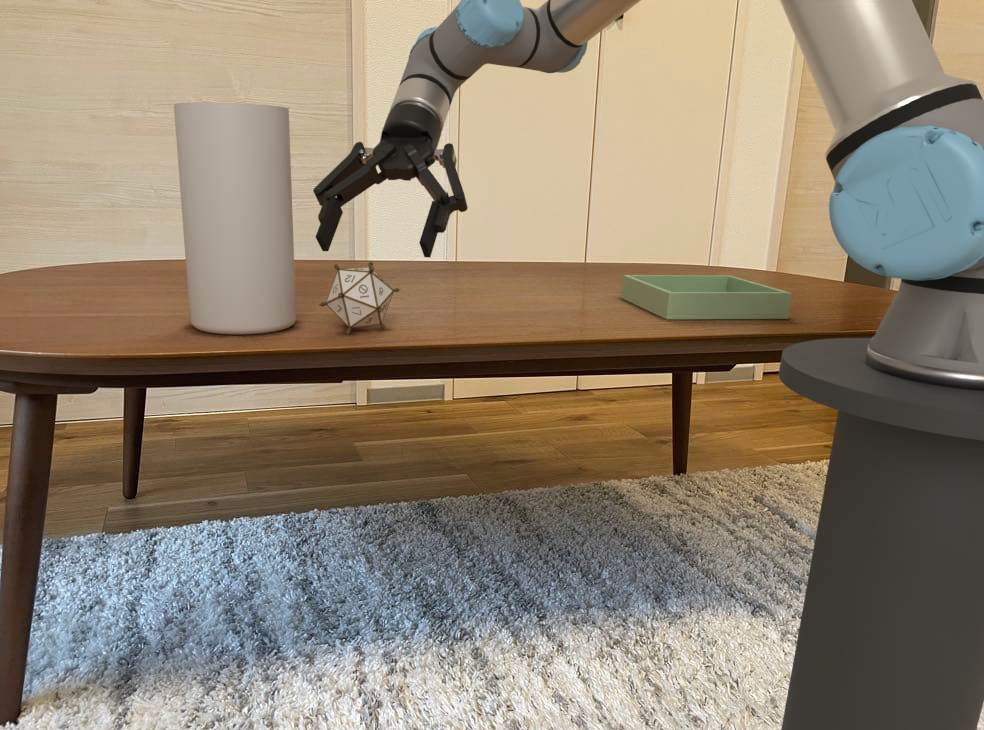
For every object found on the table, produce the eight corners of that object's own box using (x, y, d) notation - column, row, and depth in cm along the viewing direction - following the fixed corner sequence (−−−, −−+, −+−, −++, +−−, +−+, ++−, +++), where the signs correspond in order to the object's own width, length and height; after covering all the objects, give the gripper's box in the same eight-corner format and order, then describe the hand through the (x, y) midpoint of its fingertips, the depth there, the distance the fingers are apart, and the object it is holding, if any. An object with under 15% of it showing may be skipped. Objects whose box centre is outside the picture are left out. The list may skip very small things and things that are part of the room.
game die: (362, 355, 97) (384, 285, 100) (397, 344, 90) (420, 269, 93) (299, 325, 92) (324, 252, 95) (331, 310, 85) (357, 232, 88)
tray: (788, 319, 107) (792, 292, 106) (666, 319, 104) (669, 292, 103) (727, 298, 123) (730, 275, 122) (621, 298, 121) (623, 275, 120)
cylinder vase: (187, 337, 88) (168, 100, 80) (194, 317, 99) (178, 108, 92) (299, 334, 90) (291, 105, 83) (293, 315, 102) (286, 112, 95)
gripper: (509, 146, 104) (475, 272, 94) (339, 143, 111) (292, 260, 101) (501, 100, 97) (464, 231, 88) (321, 100, 104) (269, 221, 95)
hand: (372, 247), depth 95 cm, fingers open, 13 cm apart
